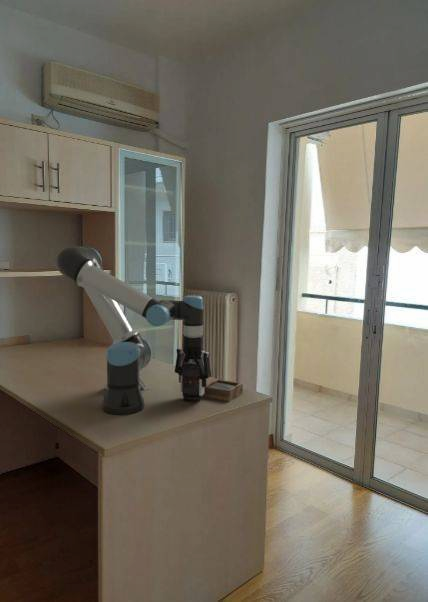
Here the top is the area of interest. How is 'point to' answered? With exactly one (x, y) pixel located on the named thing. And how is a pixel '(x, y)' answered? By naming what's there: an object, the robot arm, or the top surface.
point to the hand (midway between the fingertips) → (192, 392)
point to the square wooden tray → (223, 390)
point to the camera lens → (191, 381)
